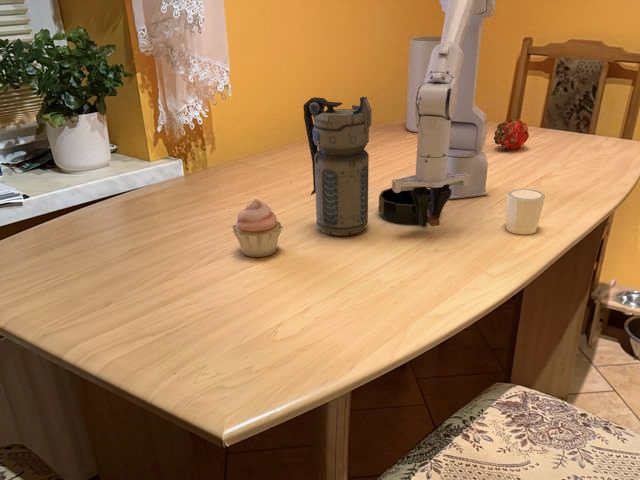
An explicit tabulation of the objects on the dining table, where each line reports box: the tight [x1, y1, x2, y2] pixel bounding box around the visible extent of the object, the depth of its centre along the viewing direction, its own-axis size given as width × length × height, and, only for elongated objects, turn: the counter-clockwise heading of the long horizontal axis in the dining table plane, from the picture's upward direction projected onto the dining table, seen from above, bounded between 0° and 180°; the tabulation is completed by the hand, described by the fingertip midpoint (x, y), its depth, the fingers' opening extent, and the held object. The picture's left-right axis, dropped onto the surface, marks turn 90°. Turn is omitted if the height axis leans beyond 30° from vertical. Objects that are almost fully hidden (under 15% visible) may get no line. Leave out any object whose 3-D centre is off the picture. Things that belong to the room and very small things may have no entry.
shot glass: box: [505, 188, 546, 235], centre depth 122 cm, size 7×7×7 cm
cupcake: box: [231, 199, 284, 258], centre depth 115 cm, size 9×9×10 cm
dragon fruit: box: [493, 118, 530, 152], centre depth 172 cm, size 8×8×12 cm
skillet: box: [378, 187, 440, 227], centre depth 128 cm, size 20×12×4 cm, turn 13°
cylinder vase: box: [405, 36, 442, 134], centre depth 189 cm, size 12×12×25 cm
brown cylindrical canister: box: [303, 96, 372, 237], centre depth 120 cm, size 10×13×25 cm
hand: (427, 224), depth 123 cm, fingers closed on skillet, 2 cm apart
